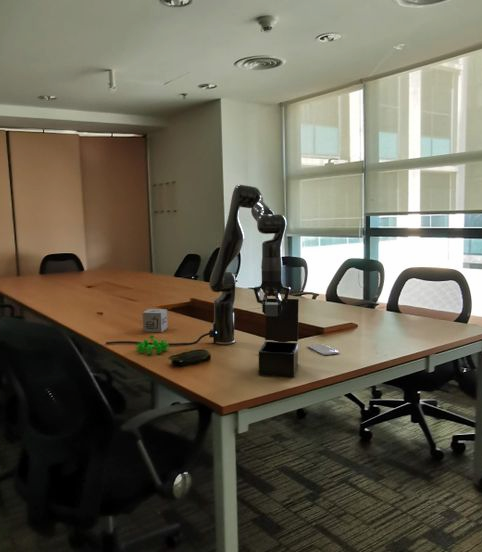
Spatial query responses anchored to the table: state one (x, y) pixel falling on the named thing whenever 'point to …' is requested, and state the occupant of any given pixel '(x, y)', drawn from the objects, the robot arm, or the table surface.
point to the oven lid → (283, 322)
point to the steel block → (271, 309)
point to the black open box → (278, 359)
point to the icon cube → (155, 320)
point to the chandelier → (152, 346)
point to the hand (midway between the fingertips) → (272, 314)
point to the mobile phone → (323, 349)
